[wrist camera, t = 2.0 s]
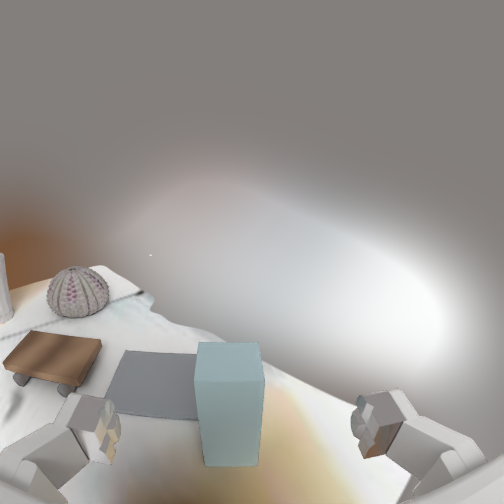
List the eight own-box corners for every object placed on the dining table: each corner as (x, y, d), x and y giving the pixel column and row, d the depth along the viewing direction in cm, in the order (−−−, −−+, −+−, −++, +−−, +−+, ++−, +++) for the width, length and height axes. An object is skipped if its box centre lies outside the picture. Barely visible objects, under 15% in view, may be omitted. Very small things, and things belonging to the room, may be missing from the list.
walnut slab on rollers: (9, 382, 28) (0, 364, 27) (38, 345, 38) (32, 328, 37) (83, 401, 29) (75, 382, 28) (106, 355, 39) (101, 337, 38)
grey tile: (102, 410, 28) (100, 406, 28) (126, 353, 40) (125, 350, 40) (202, 420, 29) (202, 416, 29) (206, 357, 41) (206, 354, 41)
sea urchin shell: (91, 287, 61) (86, 253, 58) (124, 306, 54) (119, 267, 51) (41, 306, 50) (32, 269, 47) (66, 331, 43) (56, 289, 41)
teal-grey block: (205, 466, 23) (193, 381, 20) (206, 430, 28) (198, 342, 24) (257, 466, 24) (265, 380, 20) (253, 429, 28) (258, 342, 25)
